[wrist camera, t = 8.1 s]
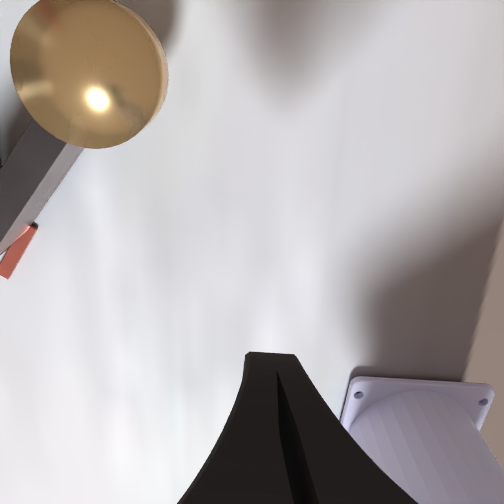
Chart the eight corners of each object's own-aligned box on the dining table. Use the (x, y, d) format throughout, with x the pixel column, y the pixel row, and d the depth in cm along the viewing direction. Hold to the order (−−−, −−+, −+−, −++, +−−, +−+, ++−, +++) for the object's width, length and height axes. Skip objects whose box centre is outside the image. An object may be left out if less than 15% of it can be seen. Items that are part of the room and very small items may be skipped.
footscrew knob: (98, -26, 16) (58, -47, 12) (198, 61, 17) (188, 65, 13) (-33, 190, 19) (-96, 224, 15) (60, 250, 20) (22, 295, 16)
